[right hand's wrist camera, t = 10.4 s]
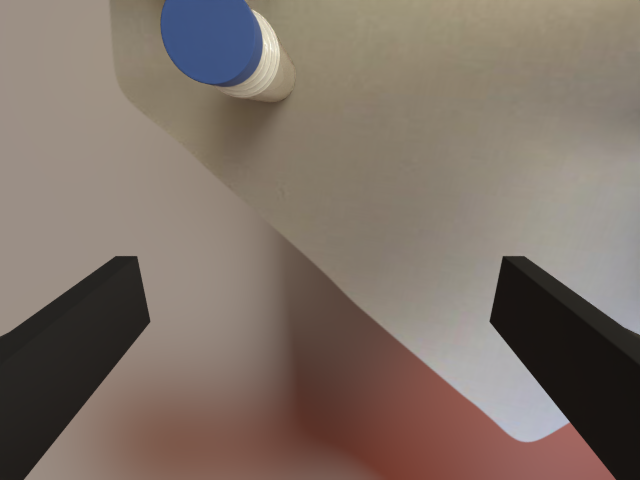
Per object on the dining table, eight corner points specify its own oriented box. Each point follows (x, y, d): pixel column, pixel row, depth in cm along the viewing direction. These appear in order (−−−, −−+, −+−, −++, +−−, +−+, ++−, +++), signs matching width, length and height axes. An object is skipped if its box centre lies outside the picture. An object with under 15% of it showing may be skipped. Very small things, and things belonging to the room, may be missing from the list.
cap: (240, 103, 17) (229, 102, 15) (166, 57, 17) (146, 50, 15) (277, 25, 16) (271, 13, 14) (200, -28, 16) (182, -47, 14)
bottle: (280, 112, 33) (236, 114, 16) (236, 84, 32) (139, 55, 15) (305, 65, 32) (285, 12, 15) (259, 35, 31) (181, -59, 14)
